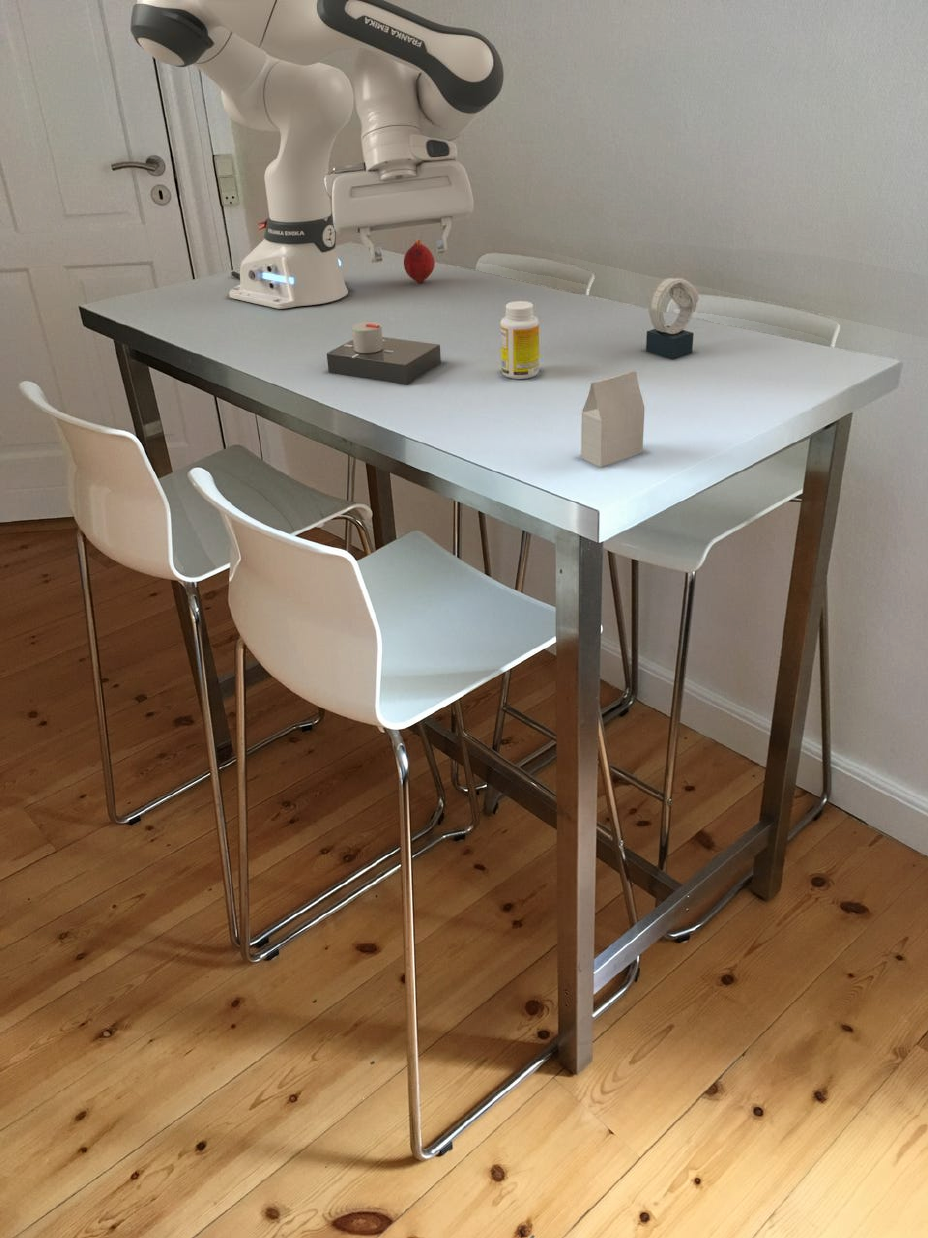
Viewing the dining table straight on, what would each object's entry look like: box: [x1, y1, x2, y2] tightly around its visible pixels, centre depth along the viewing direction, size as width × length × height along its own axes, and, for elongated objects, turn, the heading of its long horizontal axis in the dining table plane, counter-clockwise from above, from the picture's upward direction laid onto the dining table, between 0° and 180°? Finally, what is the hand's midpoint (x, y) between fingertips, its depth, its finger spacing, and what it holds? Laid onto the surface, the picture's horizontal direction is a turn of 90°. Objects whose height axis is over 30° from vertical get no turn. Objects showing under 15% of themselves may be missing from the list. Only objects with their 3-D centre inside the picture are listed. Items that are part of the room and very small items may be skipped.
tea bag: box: [580, 370, 646, 468], centre depth 131 cm, size 4×7×10 cm, turn 124°
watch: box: [645, 277, 700, 360], centre depth 163 cm, size 6×8×11 cm
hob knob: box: [351, 321, 383, 353], centre depth 163 cm, size 4×4×4 cm
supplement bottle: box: [499, 300, 540, 380], centre depth 158 cm, size 6×6×10 cm
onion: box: [403, 238, 436, 284], centre depth 204 cm, size 6×6×8 cm
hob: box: [326, 336, 442, 385], centre depth 164 cm, size 14×10×3 cm
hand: (409, 257), depth 155 cm, fingers open, 8 cm apart
